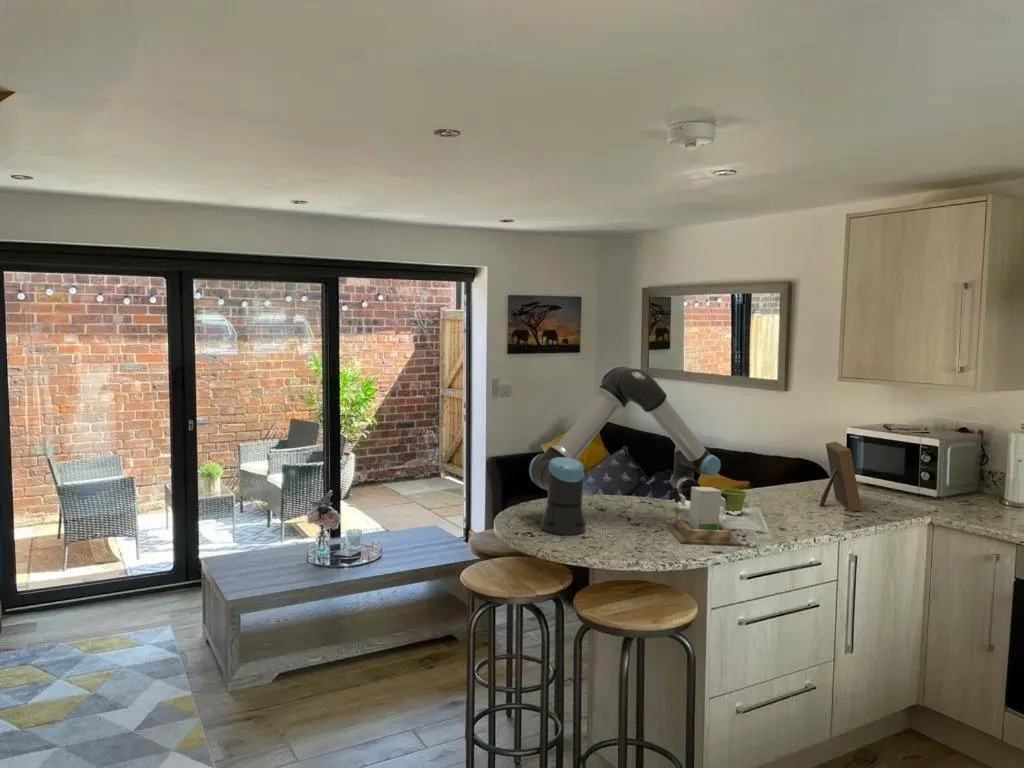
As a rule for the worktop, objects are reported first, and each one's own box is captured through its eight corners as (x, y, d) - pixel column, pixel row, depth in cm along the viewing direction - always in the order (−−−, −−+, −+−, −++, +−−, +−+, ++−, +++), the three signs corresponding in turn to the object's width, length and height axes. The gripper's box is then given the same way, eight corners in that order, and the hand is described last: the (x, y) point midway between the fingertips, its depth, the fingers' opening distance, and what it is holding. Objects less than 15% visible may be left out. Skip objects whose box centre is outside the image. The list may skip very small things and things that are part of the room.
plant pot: (746, 517, 282) (748, 495, 282) (720, 515, 284) (722, 492, 284) (744, 512, 292) (745, 490, 291) (719, 509, 293) (720, 487, 293)
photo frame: (846, 500, 322) (850, 442, 320) (861, 512, 300) (865, 450, 298) (809, 498, 324) (813, 440, 322) (822, 509, 303) (826, 448, 301)
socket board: (680, 543, 243) (681, 532, 243) (666, 527, 263) (667, 516, 263) (741, 546, 244) (742, 534, 243) (723, 529, 264) (723, 518, 263)
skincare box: (696, 537, 249) (699, 490, 248) (686, 531, 256) (689, 486, 254) (719, 536, 251) (722, 490, 250) (709, 531, 258) (712, 486, 257)
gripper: (722, 500, 276) (740, 515, 255) (654, 497, 276) (666, 511, 255) (723, 480, 276) (741, 493, 255) (655, 477, 275) (668, 490, 254)
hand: (704, 502), depth 255 cm, fingers open, 13 cm apart
